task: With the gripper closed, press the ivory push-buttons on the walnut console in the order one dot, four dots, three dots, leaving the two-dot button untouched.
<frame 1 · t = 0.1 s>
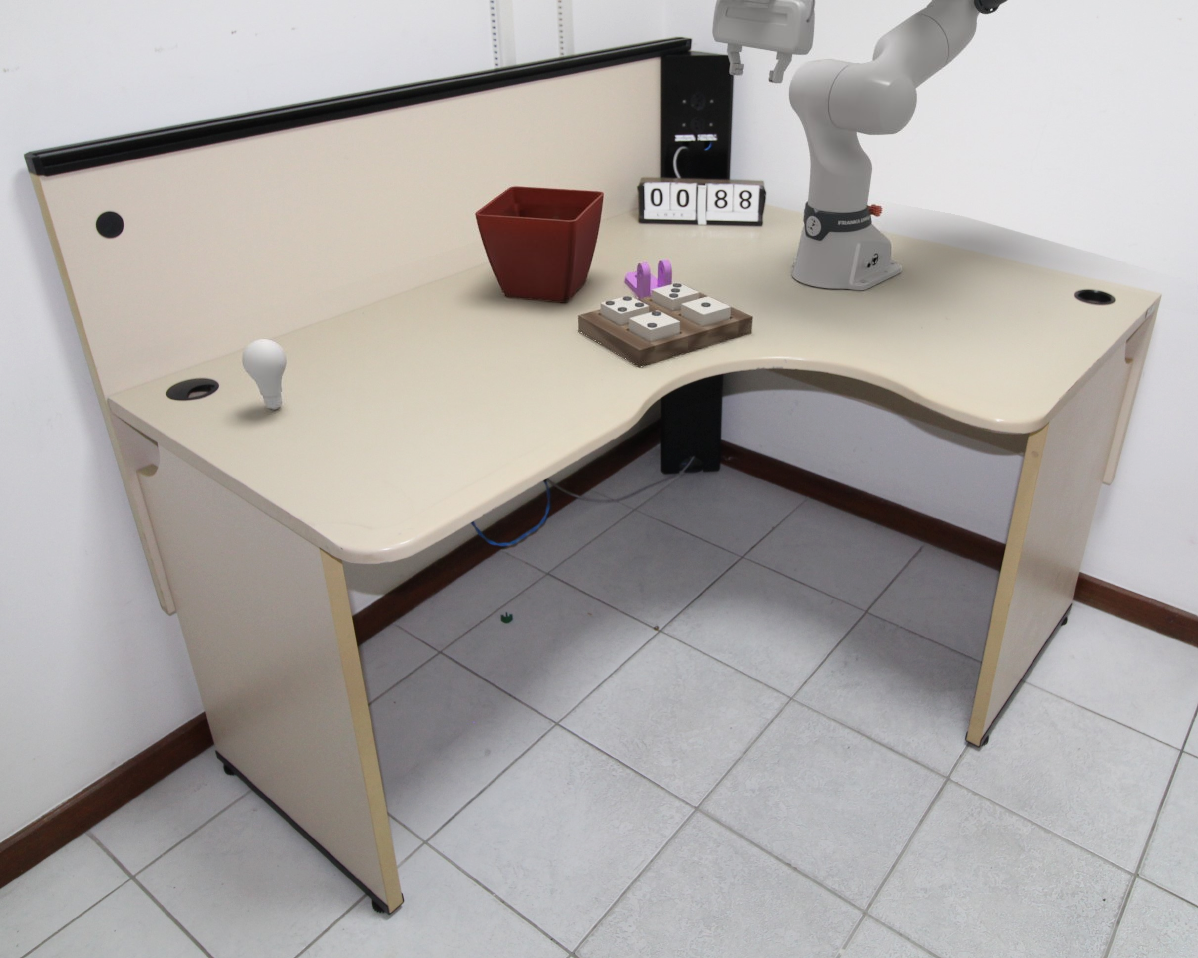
hand: (755, 79, 157), 39 cm above the table, tool pointing down, fingers open, 8 cm apart
lightbulb: (275, 410, 143), on the table
bracket: (645, 290, 185), on the table
button three dots: (675, 299, 170), point 3 cm above the table, slide at 0.0 cm
console: (664, 332, 166), on the table
button one dot: (705, 313, 164), point 3 cm above the table, slide at 0.0 cm
button two dots: (654, 328, 159), point 3 cm above the table, slide at 0.0 cm
button four dots: (624, 312, 165), point 3 cm above the table, slide at 0.0 cm
plant pot: (544, 290, 185), on the table
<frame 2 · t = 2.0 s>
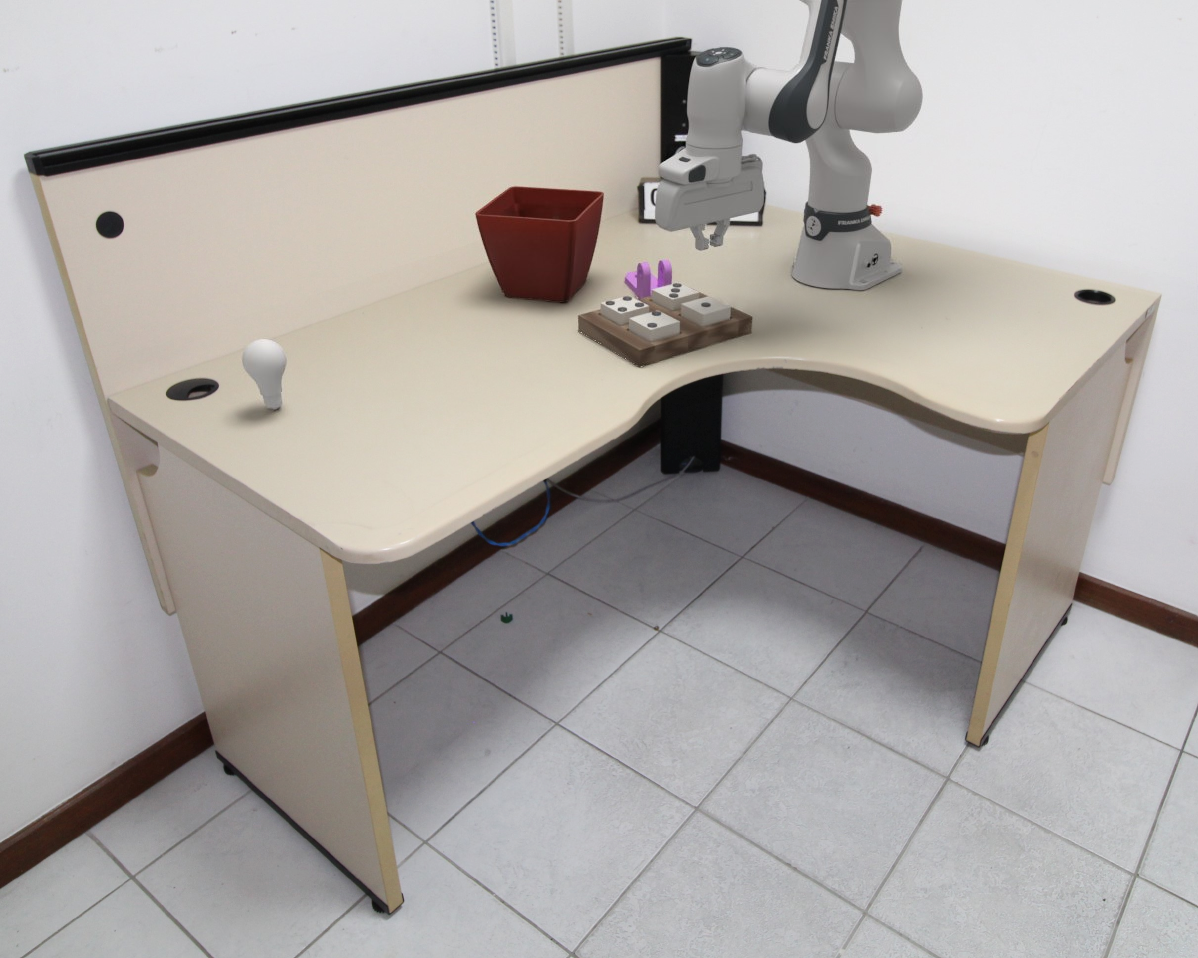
hand: (709, 247, 158), 15 cm above the table, tool pointing down, fingers closed
nothing on the table moved.
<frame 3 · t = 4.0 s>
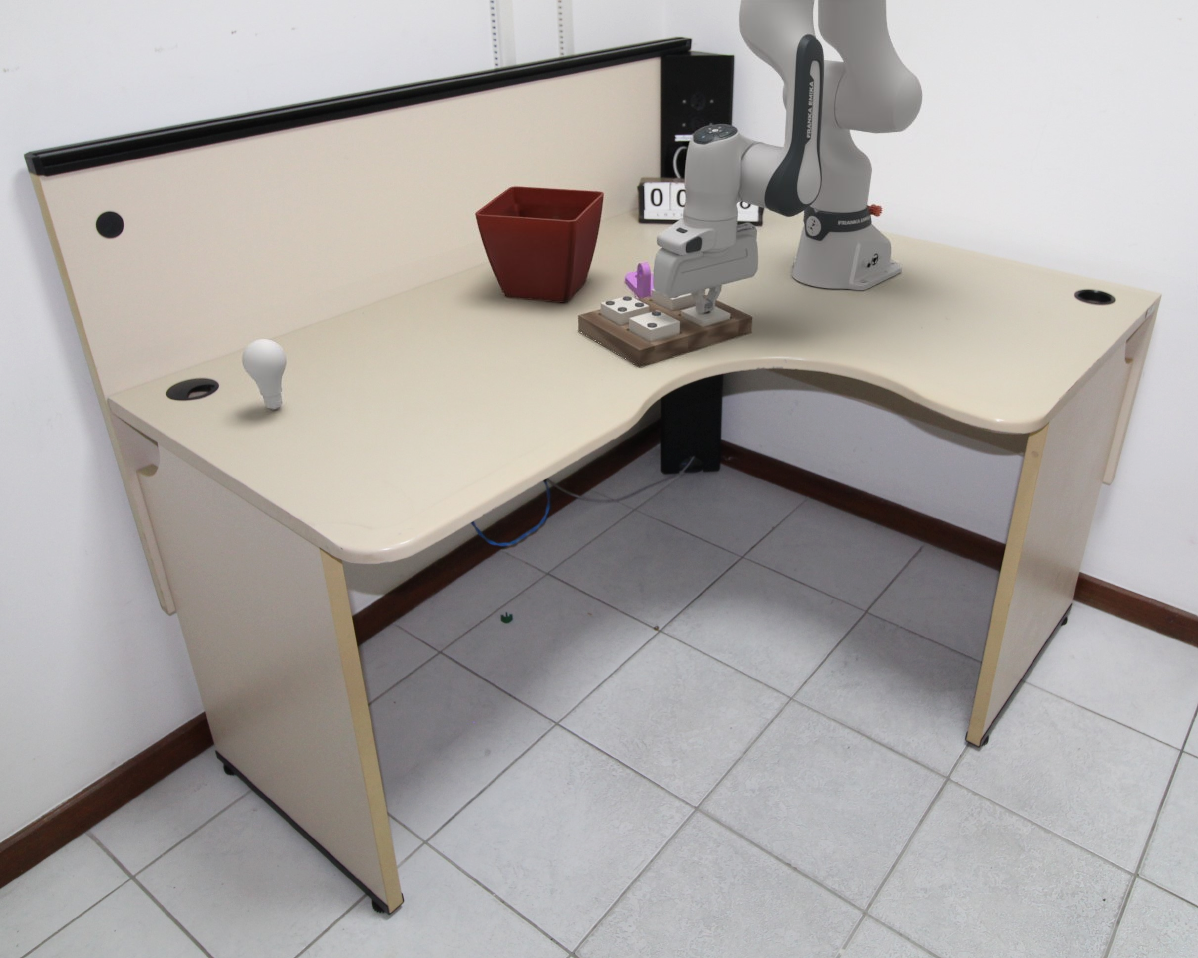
hand: (705, 311, 164), 4 cm above the table, tool pointing down, fingers closed, pressing on button one dot
button one dot: (705, 320, 165), point 2 cm above the table, slide at 1.2 cm, touching gripper
everything else where it was.
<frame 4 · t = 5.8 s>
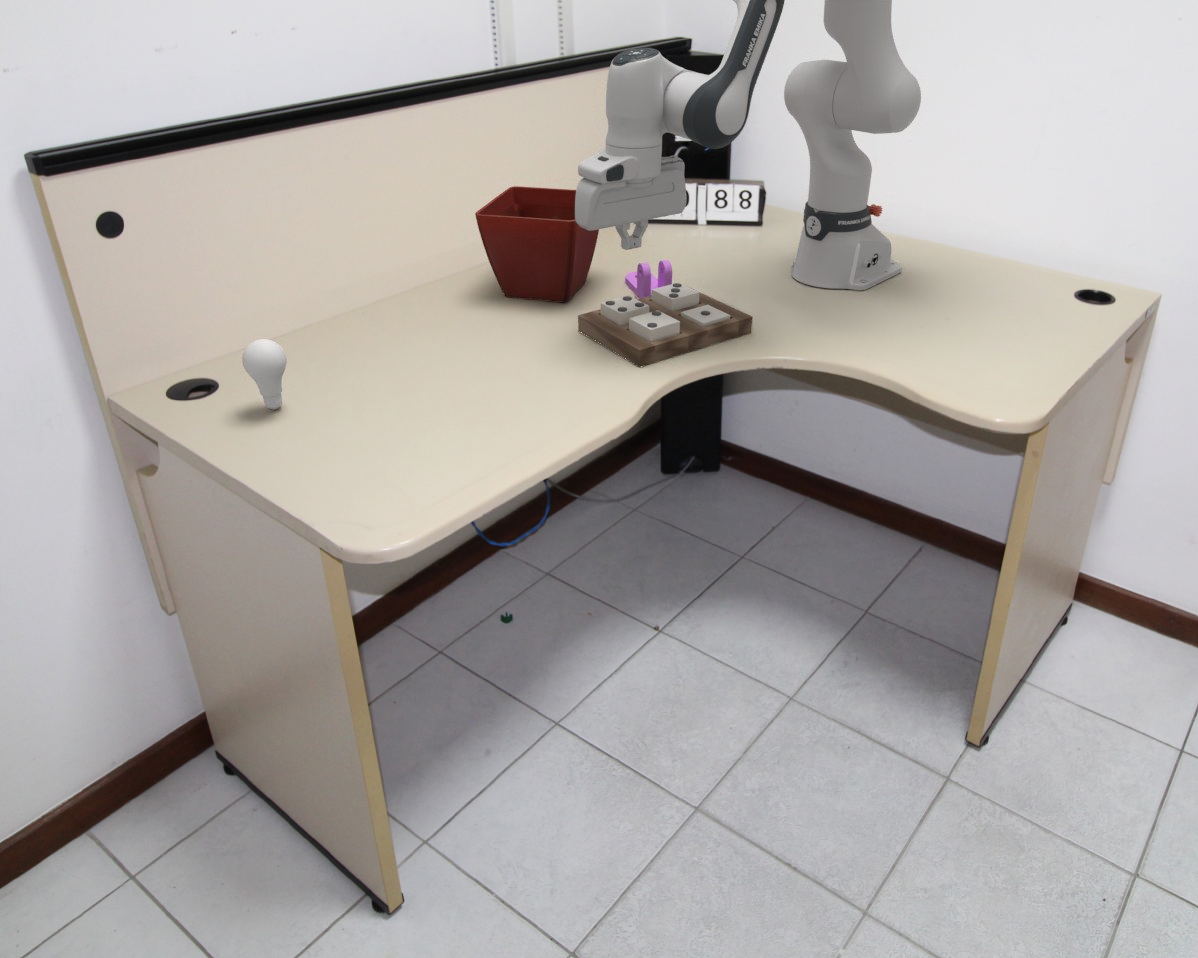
hand: (631, 248, 158), 15 cm above the table, tool pointing down, fingers closed
button one dot: (705, 321, 165), point 2 cm above the table, slide at 1.5 cm
everything else where it was.
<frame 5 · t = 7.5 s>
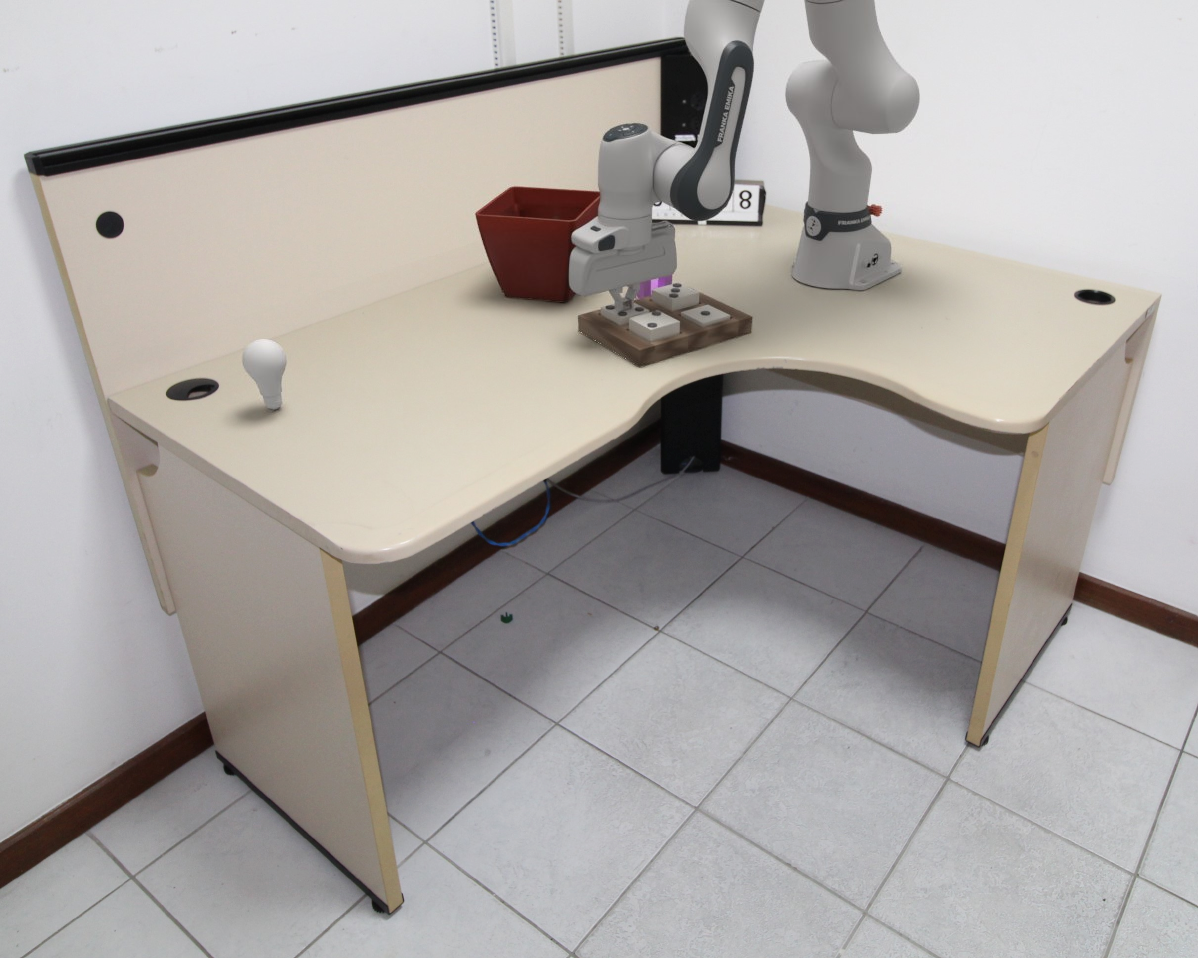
hand: (624, 309, 164), 4 cm above the table, tool pointing down, fingers closed, pressing on button four dots
button four dots: (624, 317, 165), point 3 cm above the table, slide at 0.8 cm, touching gripper
everything else where it was.
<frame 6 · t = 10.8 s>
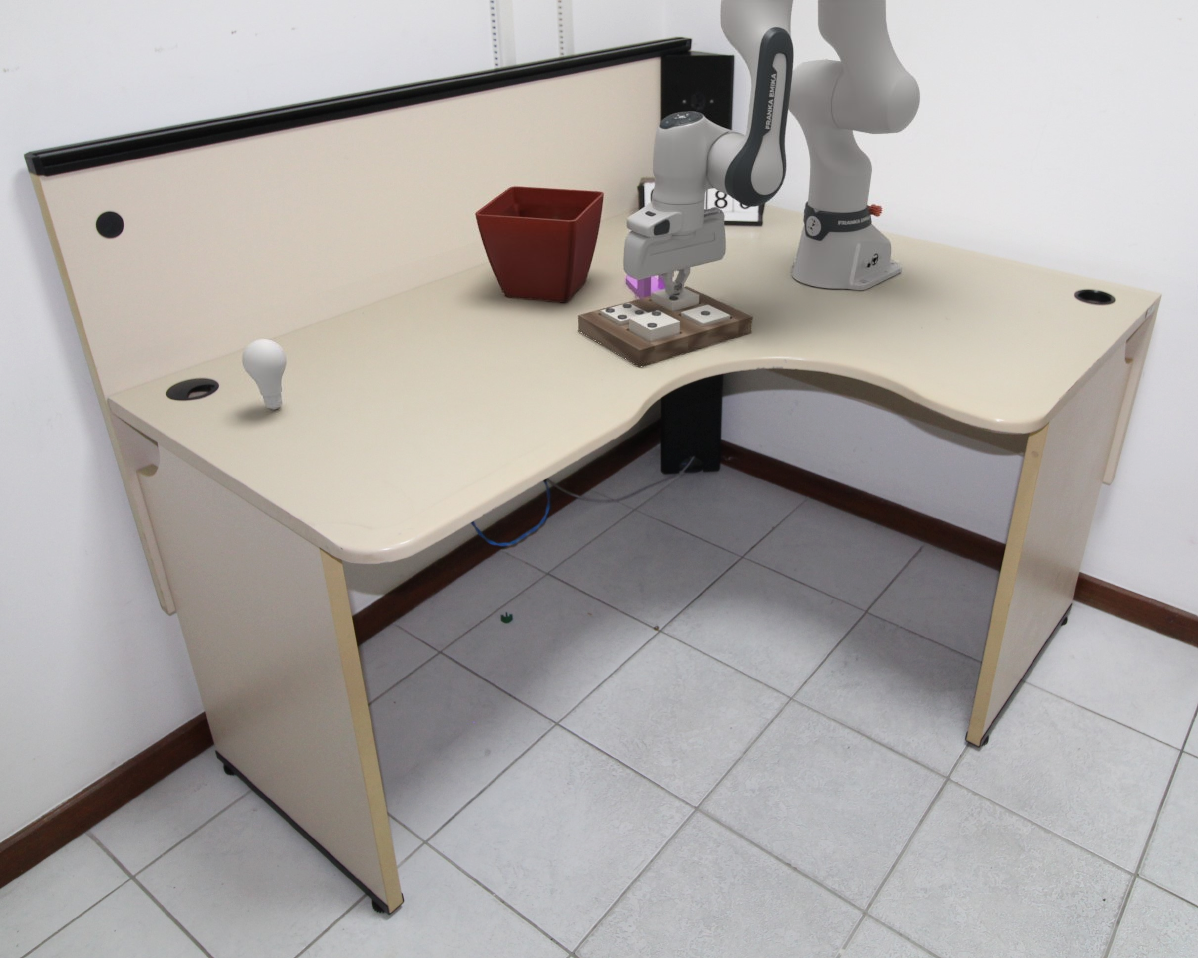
hand: (674, 293, 169), 5 cm above the table, tool pointing down, fingers closed, pressing on button three dots
button three dots: (675, 301, 170), point 3 cm above the table, slide at 0.5 cm, touching gripper
button four dots: (624, 320, 166), point 2 cm above the table, slide at 1.4 cm
everything else where it was.
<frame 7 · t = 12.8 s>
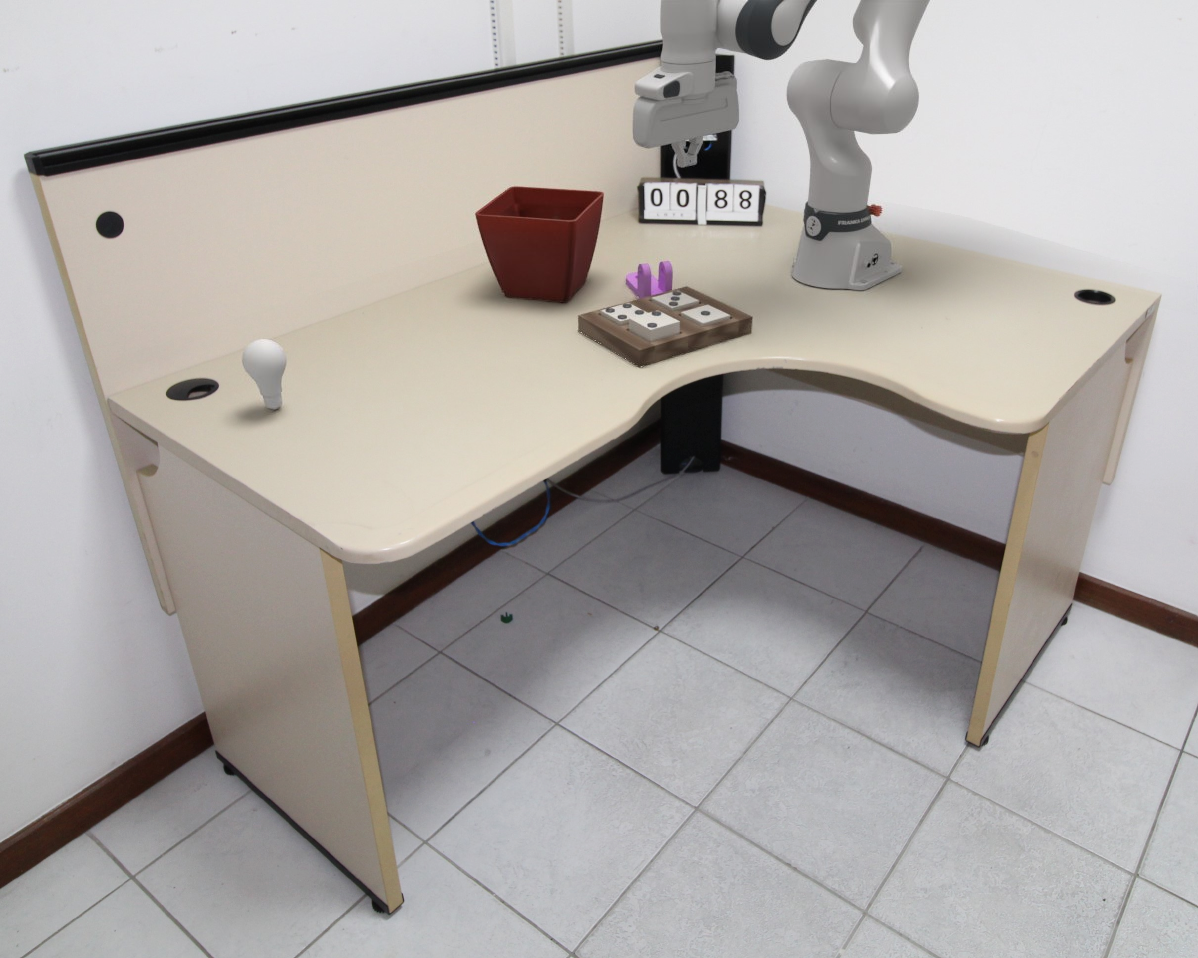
hand: (686, 165, 162), 26 cm above the table, tool pointing down, fingers closed
button three dots: (674, 307, 171), point 2 cm above the table, slide at 1.5 cm
everything else where it was.
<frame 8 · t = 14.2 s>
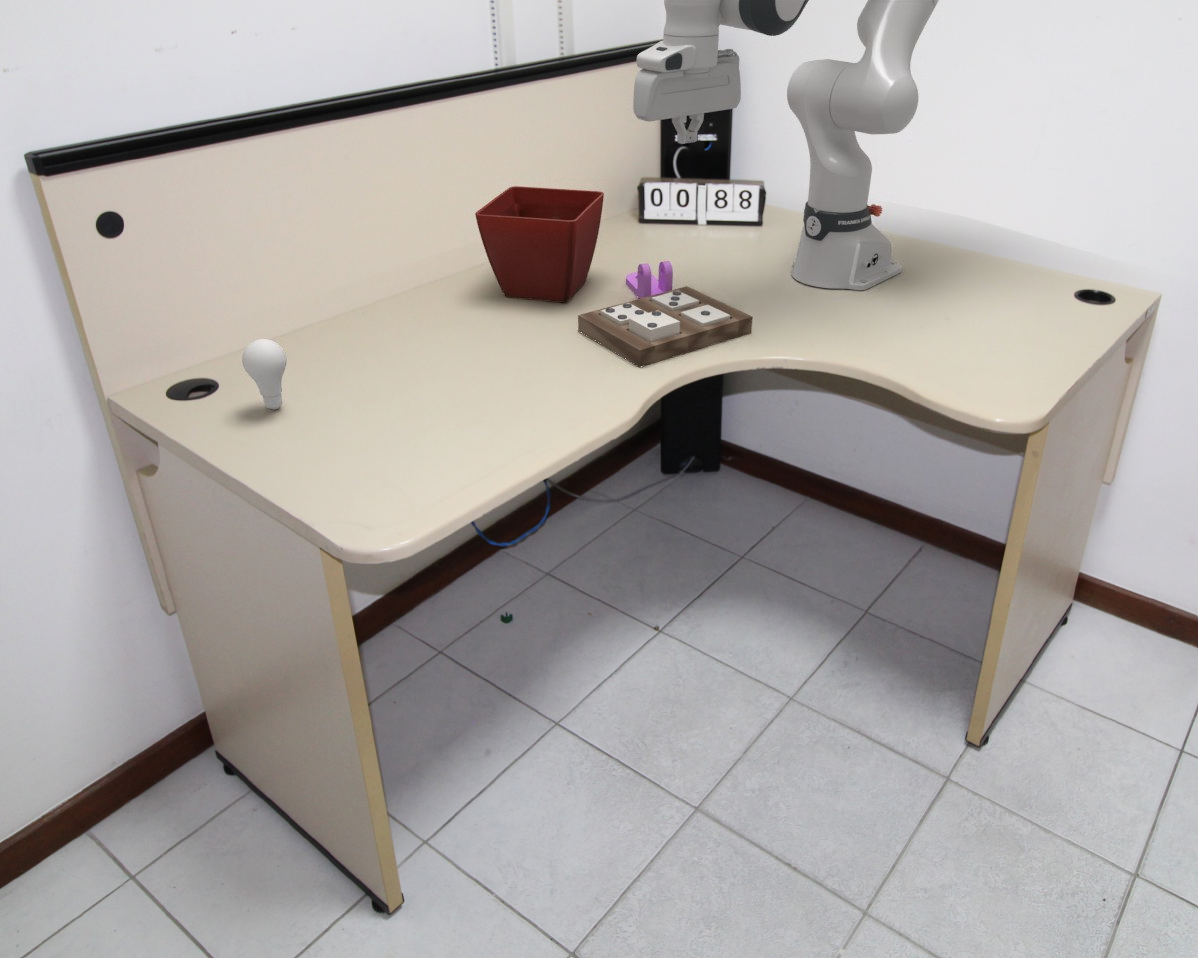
hand: (687, 142, 161), 29 cm above the table, tool pointing down, fingers closed
nothing on the table moved.
at the end: button one dot slide at 1.5 cm; button four dots slide at 1.4 cm; button three dots slide at 1.5 cm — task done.
